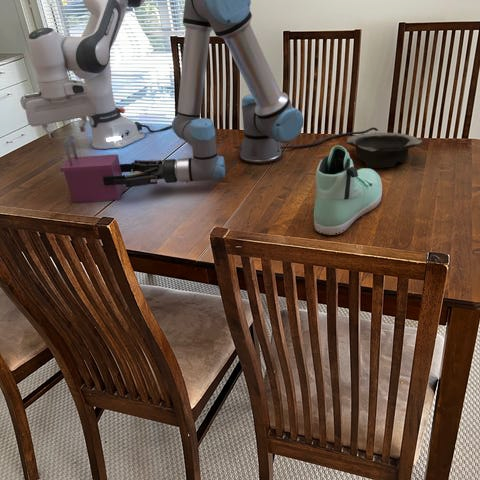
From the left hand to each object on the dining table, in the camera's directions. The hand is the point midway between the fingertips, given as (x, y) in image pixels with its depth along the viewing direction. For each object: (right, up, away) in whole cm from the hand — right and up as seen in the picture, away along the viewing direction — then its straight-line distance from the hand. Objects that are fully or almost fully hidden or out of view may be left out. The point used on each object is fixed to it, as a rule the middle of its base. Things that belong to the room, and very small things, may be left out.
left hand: (67, 134), depth 148 cm
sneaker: (+85, -24, -9) cm, 88 cm away
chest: (+7, -18, +11) cm, 22 cm away
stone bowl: (+103, -4, +20) cm, 105 cm away
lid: (+5, -9, +5) cm, 11 cm away
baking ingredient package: (+20, -7, +27) cm, 34 cm away
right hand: (+11, -12, +7) cm, 17 cm away
